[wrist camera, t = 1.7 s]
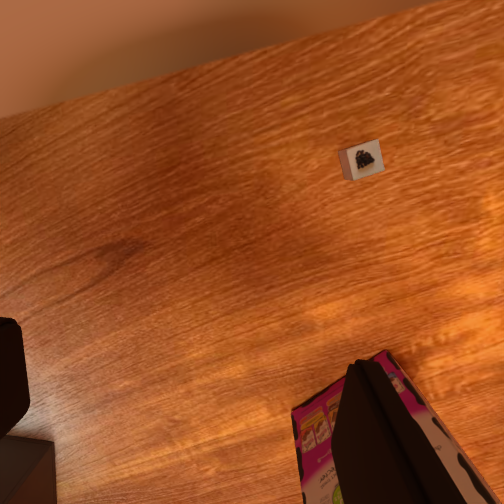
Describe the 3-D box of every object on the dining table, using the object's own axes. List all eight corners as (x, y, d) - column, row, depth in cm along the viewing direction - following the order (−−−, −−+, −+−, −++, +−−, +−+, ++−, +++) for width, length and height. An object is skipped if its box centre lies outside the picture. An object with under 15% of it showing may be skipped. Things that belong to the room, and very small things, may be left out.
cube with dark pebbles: (344, 179, 22) (354, 181, 20) (337, 151, 22) (346, 149, 19) (373, 170, 22) (386, 170, 20) (366, 141, 21) (379, 137, 19)
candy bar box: (320, 442, 29) (389, 761, 14) (289, 410, 28) (323, 715, 13) (417, 382, 27) (637, 683, 11) (386, 346, 26) (578, 619, 10)
